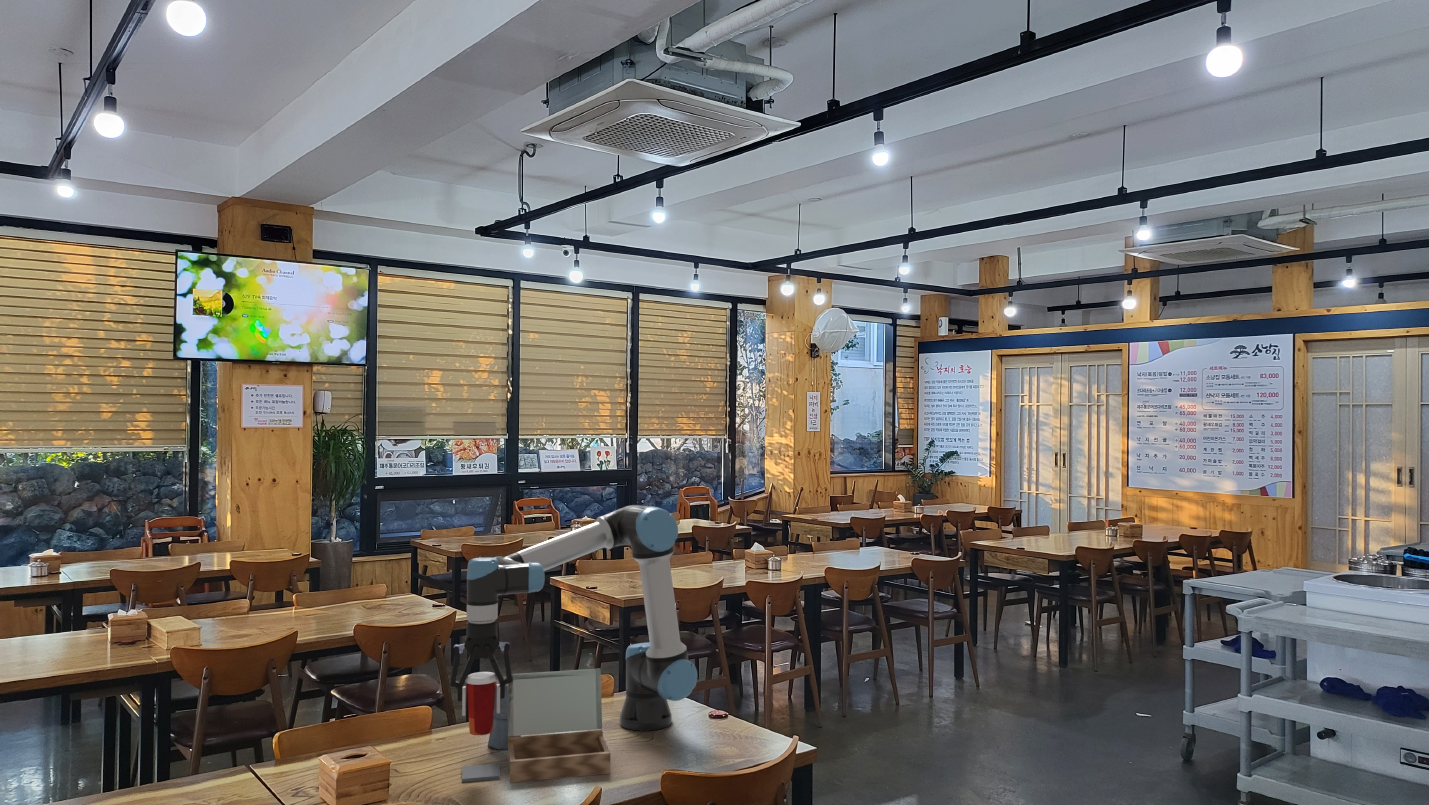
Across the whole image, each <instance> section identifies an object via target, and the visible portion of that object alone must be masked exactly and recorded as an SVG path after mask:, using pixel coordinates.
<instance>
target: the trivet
mask: <svg viewBox="0 0 1429 805" xmlns="http://www.w3.org/2000/svg"><path fill="white" fill-rule="evenodd" d="M500 770H501V769H500V763H499V762H497V763H486V764H485V763H484V764H473V765H462V768H461V773H462V774H461V783H470V782H481V781H493V780H500V779H501V773H500V772H501V771H500Z"/></svg>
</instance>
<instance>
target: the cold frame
mask: <svg viewBox="0 0 1429 805" xmlns="http://www.w3.org/2000/svg"><path fill="white" fill-rule="evenodd" d="M603 732H604V731H603V730H602V729H595V730H583V731H571V732H558V733H546V734H534V735H521V737H510V738H508V749H507V767H508V775H509V776H508V777H509V783H510V784H512V783H521V782H532V781H543V780H552V779H553V780H554V779H563V778H564V779H565V778H574V777H576V778H577V777H586V776H596V775H606V774H607V775H609V774H611V752H610V749H609V745H608V744H607V741H606V740H605V737H604V734H603Z"/></svg>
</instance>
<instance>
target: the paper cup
mask: <svg viewBox="0 0 1429 805" xmlns="http://www.w3.org/2000/svg"><path fill="white" fill-rule="evenodd" d="M496 681H497V676H496V674H495V672H491V671H478V672H473V673H470V674H468V675H467V678H466V680H465V682H464V683H466V692H467V693H466V694H467V709H468V710H467V712H468V729H469V730H468V731H469V734H470V735H471V736H472V735H473V736H486V735H490V733H491V732H492V731H493V720H494V704H495V687H496Z"/></svg>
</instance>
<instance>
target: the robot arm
mask: <svg viewBox="0 0 1429 805" xmlns="http://www.w3.org/2000/svg"><path fill="white" fill-rule="evenodd" d="M678 526H679V525H678V522H677V520H676V519H675V517H674V515H673V514H672V513H671V512H670V511H668V510H666V509H664V508H661V507H659V506H650V505H649V506H647V505H640V504H632V505H631V504H630V505H626V506H624V507H622V508H618V509H617V510H613V511H612V512H608V513H606V514H604V515H601V516H598V517H597V518H596V520H595V522H592V523H590V524H588V525H585V526H582V527H580V528H577V529H574V530H570V531H569V532H566V533H563V534H561V535H559V536H555V537H553V538H551V539H548V540H545V541H543V542H540V543H537V544H534V545H533V546H529V547H527V548H524V549H522V550H520V551H517V552H513V553H511V554H508V555H506V556H502V555H501V556H495V557H475V558H471V559H470V560H469V561H468V562H467V571H466V572H467V573H466V620H467V622H466V632H465V633H466V635H465V636H466V637H465V638H466V639H465V641H464V643H460V644H457V643H455V644H454V645H453V653H454V659H453V664H452V670H451V675H450V676H451V677H450V682H449V683H450V684H449V685H450V687H452V688H456V690H457V698H456V700H457V702H462V704H461V706H462V707H461V716H462V717H465V716H466V694H467V693H466V692H467V685H464V684H465V683H466V682H465V681H466V680H467V677H468V675H469V673H470V670H471V668H472V666H473V664H474V662H475V660H480V659H485V660H487V659H489V662H490V664H491V667H492V668H493V671H494V673H495V675H496V678H498V681H499V683H500V684H497V713H500V699H504V697H505V685H506V684H508V683H511V682H512V675H511V674H512V669H511V663H510V662H511V661H510V656H509V651H510V645H511V644H510V642H509V641H500V640H499V639H498V620H497V619H498V615H499V614H498V613H499V612H498V608H499V606H498V604H499V602H498V601H499V596H504V595H513V594H514V595H517V594H527V593H528V594H531V593H535V592H536V593H537V592H539V591H541V590H542V589H543V587H544V586H545V579H546V578H545V571H548V570H551V569H553V568H555V567H558V566H560V565H563V564H565V563H569V562H571V561H573V560H576V559H578V558H580V557H583V556H585V555H588V554H591V553H594V552H597V551H598V550H601V549H607V550H610V549H614V548H615V547H620V546H630V547H631V554H632V559H633V560H635V561H636V562H637V563H638V567H639V573H640V582H641V589H642V594H643V602H644V603H643V604H644V610H645V617H646V618H645V619H646V624H647V631H648V632H647V633H648V638H649V642H648V641H647V642H639V643H633V644H630V645H628V647H627V648H626V649H625V650H626V651H625V698H624V701H623V702H624V703H623V705H622V707H621V712H620V715H619V725H620V726H621V727H622V728H624V729H627V730H632V731H644V732H645V731H656V730H660V729H661V730H662V729H664V728H666V727H669V726H671V724H672V722H673V721H672V720H673V719H672V718H673V717H672V716H673V715H672V712H671V708H670V706H669V701H672V702H677V701H678V702H679V701H681V700H684V699H685V698H687V697H688V696H690V695H691V693H692V692H693V689H695V688H696V685H697V682H698V670H697V668H696V665H694V663H693V662H692V661H691V660H689V655H688V649H687V645H685V643H683V642H682V640H681V636H680V629H679V622H678V613H677V605H676V599H675V598H676V597H675V591H674V585H673V584H674V583H673V577H672V576H673V575H672V568H671V561H670V559H671V557H672V555H673V554H674V553H675V552H674V551H675V550H674V545H675V543H676V541H677V539H678V536H679V527H678ZM499 647H500V651H501V652H502V653H503V660H504V666H505V677H506V675H507V677H506V678H503V677H504V676H503V673H502V671H501V669H500V666H499V664H498V661H497V660H496V659H497V658H496V657H495V654H494V653H495V652H496V650H498V648H499ZM464 649H465V650H466V651H467V653H468V654H469V656H468V658H467V661H466V663H465V666H464V668H463V671H462V673H461V676H460V677H459V680H457V675H458V670H459V664H460V658H461V654H462V653H463V651H464Z"/></svg>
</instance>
